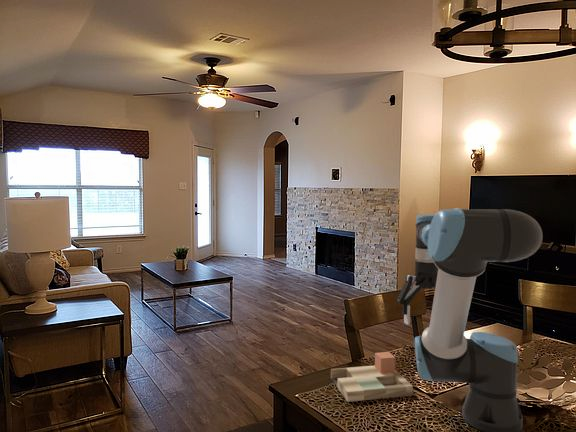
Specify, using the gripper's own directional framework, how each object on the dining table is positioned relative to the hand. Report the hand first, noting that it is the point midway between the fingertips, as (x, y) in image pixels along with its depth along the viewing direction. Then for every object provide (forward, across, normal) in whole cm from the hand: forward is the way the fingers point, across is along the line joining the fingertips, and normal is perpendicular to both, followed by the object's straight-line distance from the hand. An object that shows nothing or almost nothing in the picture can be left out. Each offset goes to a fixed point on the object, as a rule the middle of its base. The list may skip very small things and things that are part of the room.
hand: (425, 322), depth 149 cm
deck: (+18, +22, +5) cm, 29 cm away
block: (+15, +15, 0) cm, 21 cm away
